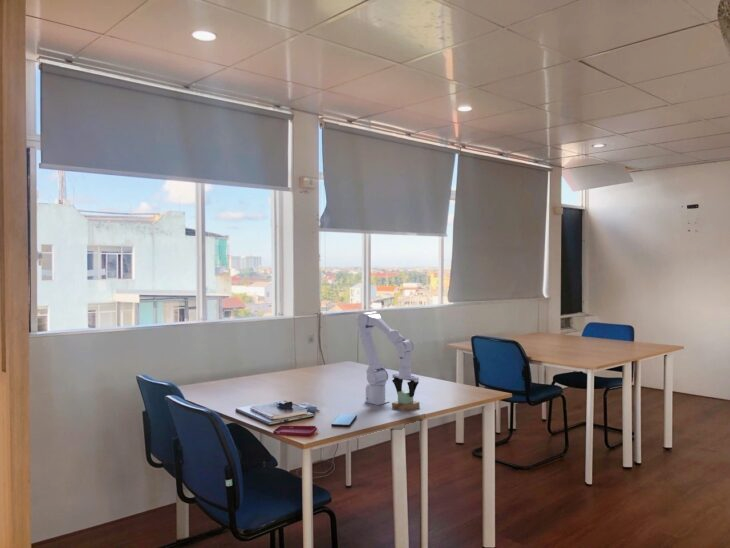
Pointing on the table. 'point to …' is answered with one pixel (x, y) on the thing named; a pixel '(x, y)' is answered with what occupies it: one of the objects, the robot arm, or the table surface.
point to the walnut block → (405, 406)
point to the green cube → (404, 397)
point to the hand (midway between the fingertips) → (405, 395)
